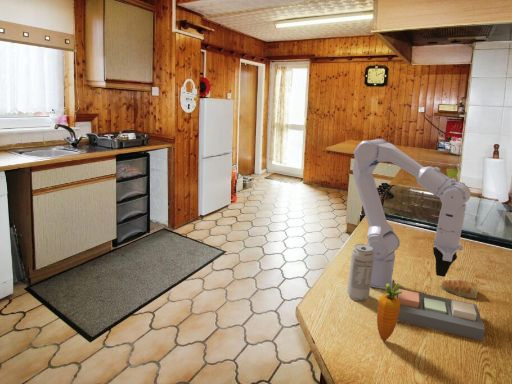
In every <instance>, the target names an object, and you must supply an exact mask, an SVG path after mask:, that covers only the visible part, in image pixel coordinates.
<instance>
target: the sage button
mask: <svg viewBox="0 0 512 384" xmlns="http://www.w3.org/2000/svg"><path fill="white" fill-rule="evenodd" d="M423 309H424V310H428V311H433V312H437V313H442V314H446V312H447V311H446V306H445V302H442V301H437V300H433V299H428V298H424V301H423Z"/></svg>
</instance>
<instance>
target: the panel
mask: <svg viewBox="0 0 512 384" xmlns="http://www.w3.org/2000/svg"><path fill="white" fill-rule="evenodd" d="M394 287H395V286H392V290H391V292H392V291H393V290H394ZM399 289H402V290H407V291H411V292H416V293H419V307H418V308H415V307H410V306H406V305H401V304H400V310H399V315H398V320H397V322H401V323H406V324H410V325H414V326H418V327H422V328H426V329H430V330H435V331H440V332H444V333H448V334H452V335H456V336H459V337H465V338H469V339H473V340H477V341H484V336H485V332H486V328H485V326H484V322H483V320H482V316H481V314H480V311H479V308H478V305H477V304H476V303H471V302H465V301H460V300H456V299H451V298H447V297H442V296H437V295H432V294H428V293H423V292H418V291H414V290H413V291H412V290H409V289H404V288H399V287H398V288H397V290H396V291H399ZM395 297H396V298H398V294H397V295H396V296H395ZM424 298H428V299H433V300H437V301H442V302H445V306H446V311H447V312H446V314H442V313H437V312H433V311H428V310H424V309H423V301H424ZM452 300H454V301H459V302H464V303H469V304H473V305H474V308H475V311H476V314H477V316H476V320H475V321H473V320H469V319H464V318H460V317H455V316H452V315H451V310H450V306H451V301H452Z"/></svg>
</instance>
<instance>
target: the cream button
mask: <svg viewBox="0 0 512 384" xmlns="http://www.w3.org/2000/svg"><path fill="white" fill-rule="evenodd" d="M454 300H455V299H452V301H451V306H450V310H451V315H452V316H455V317H460V318H464V319H469V320H473V321H475V320H476V316H477V314H476V311H475V308H474V305H473V304H474V303H471V304H469V303H470V302H467V303H464V302H465V301H462V302H459V301H460V300H457V301H454Z"/></svg>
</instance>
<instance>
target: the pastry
mask: <svg viewBox="0 0 512 384" xmlns="http://www.w3.org/2000/svg"><path fill="white" fill-rule="evenodd" d="M440 287H441V288H442V289H443V290H444V291H445V292H448V293H451V294H453V295H456V296H460V297H464V298H466V299H467V298H468V299H472V300H473V299H476V298H477V296H478V289H477V288H478V287H477V283H476V282H474V281H472V282H471V281H468V280H464V279H454V280H453V279H449V280H444V281H442V282H441V284H440Z"/></svg>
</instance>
